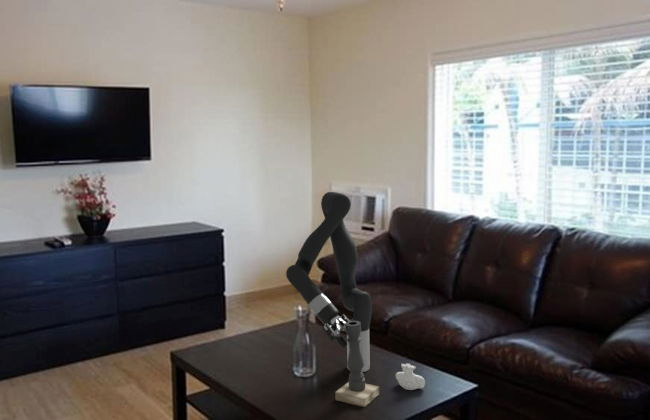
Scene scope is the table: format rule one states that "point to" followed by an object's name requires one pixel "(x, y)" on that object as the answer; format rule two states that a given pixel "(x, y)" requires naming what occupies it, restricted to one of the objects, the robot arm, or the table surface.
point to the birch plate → (357, 395)
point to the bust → (409, 378)
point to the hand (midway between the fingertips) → (351, 342)
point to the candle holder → (355, 356)
